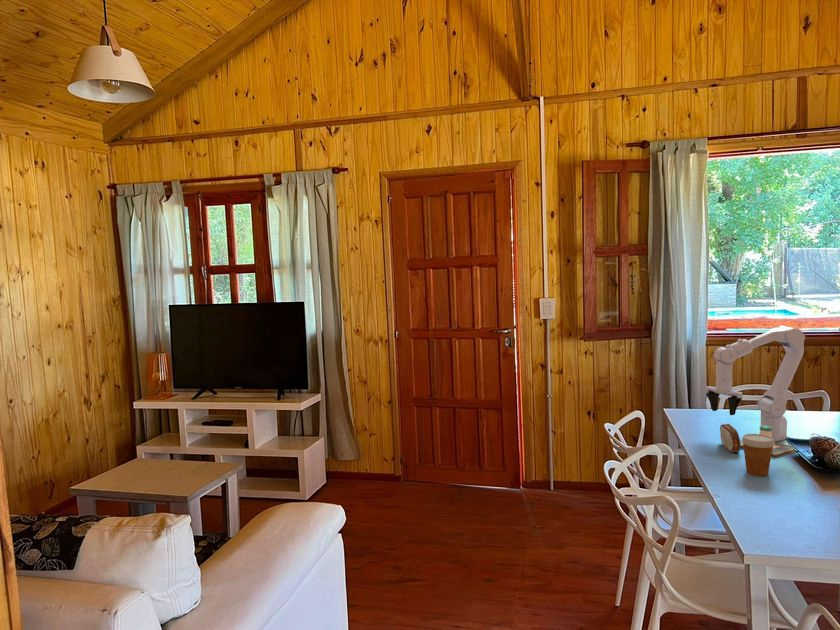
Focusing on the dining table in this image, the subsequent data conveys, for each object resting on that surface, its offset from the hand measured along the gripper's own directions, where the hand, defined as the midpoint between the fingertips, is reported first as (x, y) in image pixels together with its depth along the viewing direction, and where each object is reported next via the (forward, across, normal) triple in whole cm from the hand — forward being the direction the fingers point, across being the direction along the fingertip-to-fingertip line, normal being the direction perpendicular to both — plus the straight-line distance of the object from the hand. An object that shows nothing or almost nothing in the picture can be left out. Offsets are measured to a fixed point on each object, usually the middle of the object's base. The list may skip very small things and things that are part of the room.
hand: (723, 412), depth 236 cm
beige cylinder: (+9, +16, +2) cm, 19 cm away
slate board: (+10, +16, +2) cm, 19 cm away
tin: (+11, +9, -9) cm, 16 cm away
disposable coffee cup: (+11, +30, -24) cm, 40 cm away
